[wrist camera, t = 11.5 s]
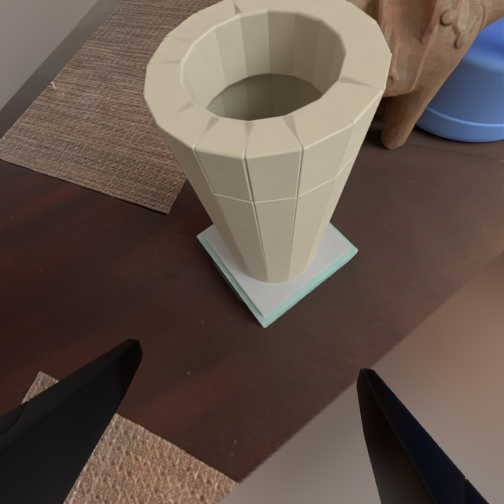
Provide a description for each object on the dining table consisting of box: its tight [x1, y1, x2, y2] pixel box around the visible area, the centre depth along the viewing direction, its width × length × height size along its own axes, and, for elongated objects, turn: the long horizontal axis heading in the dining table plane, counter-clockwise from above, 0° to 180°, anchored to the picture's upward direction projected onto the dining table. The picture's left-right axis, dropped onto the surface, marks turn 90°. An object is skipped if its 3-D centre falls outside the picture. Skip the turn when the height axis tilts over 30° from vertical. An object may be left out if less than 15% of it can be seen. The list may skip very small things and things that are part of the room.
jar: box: [143, 0, 392, 283], centre depth 13 cm, size 7×7×14 cm
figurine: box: [345, 0, 504, 149], centre depth 19 cm, size 7×18×15 cm, turn 90°
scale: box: [197, 222, 358, 328], centre depth 21 cm, size 10×10×3 cm
